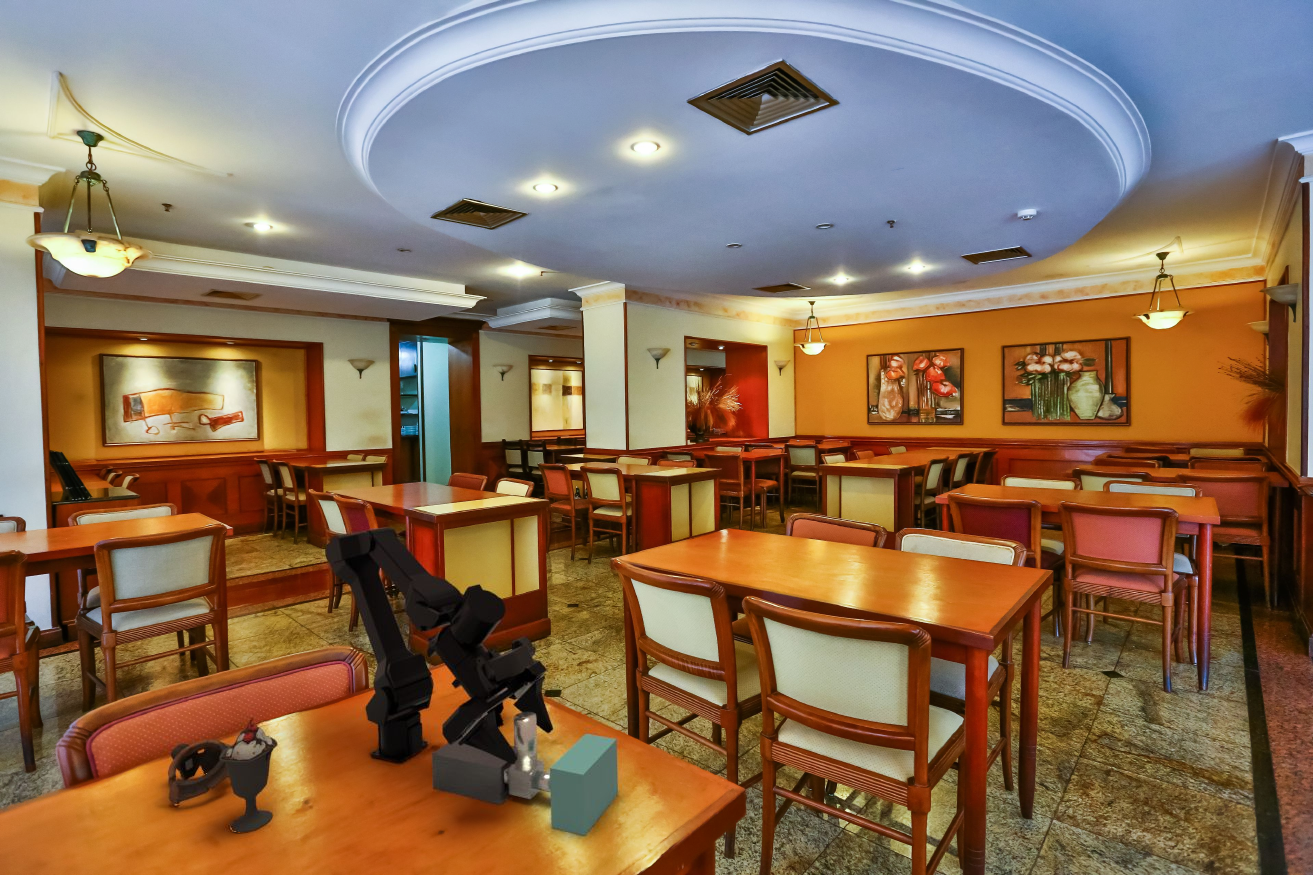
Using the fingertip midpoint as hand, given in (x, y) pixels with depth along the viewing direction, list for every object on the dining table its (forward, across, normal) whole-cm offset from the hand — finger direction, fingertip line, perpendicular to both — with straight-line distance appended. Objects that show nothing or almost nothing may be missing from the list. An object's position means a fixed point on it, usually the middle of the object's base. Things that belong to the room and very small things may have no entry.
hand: (533, 745), depth 92 cm
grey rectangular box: (-2, 0, +12) cm, 12 cm away
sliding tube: (0, 0, +9) cm, 9 cm away
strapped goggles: (-29, -15, +40) cm, 52 cm away
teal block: (+11, 0, 0) cm, 11 cm away
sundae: (-18, -18, +29) cm, 39 cm away
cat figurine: (-9, +18, +20) cm, 29 cm away
